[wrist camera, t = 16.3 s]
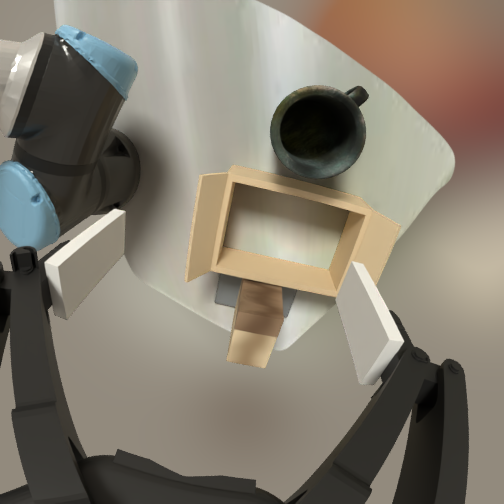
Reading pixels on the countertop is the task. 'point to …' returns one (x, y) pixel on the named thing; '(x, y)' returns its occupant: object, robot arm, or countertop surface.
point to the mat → (231, 287)
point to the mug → (319, 130)
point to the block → (255, 323)
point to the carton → (277, 270)
